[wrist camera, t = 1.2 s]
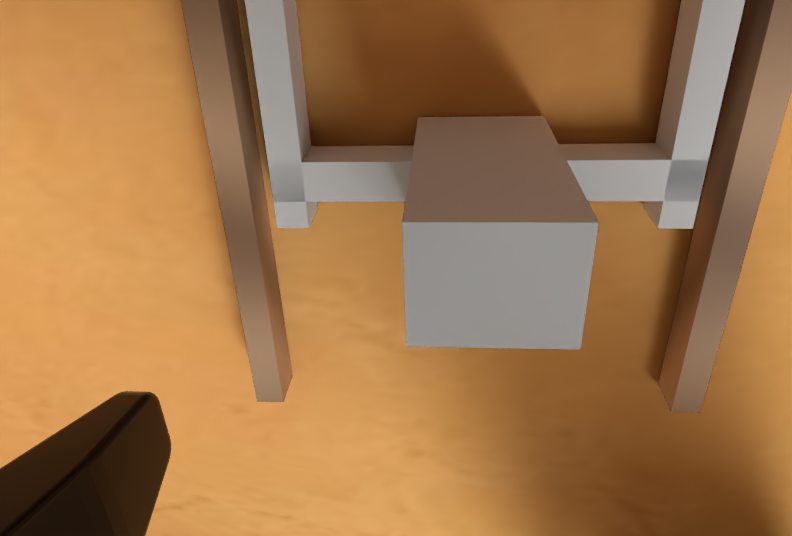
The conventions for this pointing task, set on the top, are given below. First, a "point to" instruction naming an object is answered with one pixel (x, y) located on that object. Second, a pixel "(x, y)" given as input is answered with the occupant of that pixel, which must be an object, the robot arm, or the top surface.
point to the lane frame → (712, 237)
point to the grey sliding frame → (497, 187)
